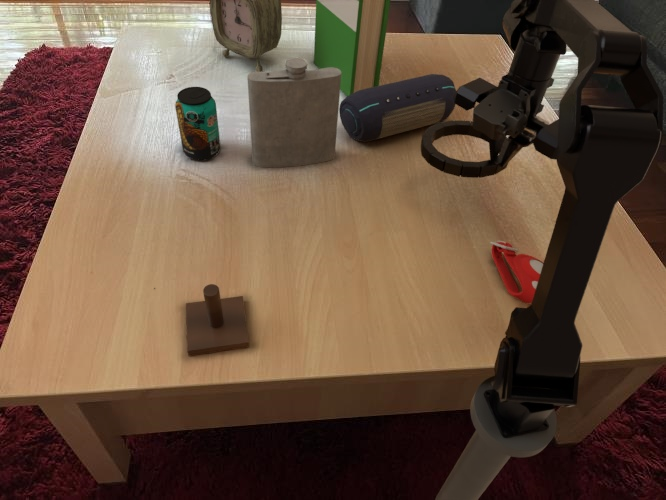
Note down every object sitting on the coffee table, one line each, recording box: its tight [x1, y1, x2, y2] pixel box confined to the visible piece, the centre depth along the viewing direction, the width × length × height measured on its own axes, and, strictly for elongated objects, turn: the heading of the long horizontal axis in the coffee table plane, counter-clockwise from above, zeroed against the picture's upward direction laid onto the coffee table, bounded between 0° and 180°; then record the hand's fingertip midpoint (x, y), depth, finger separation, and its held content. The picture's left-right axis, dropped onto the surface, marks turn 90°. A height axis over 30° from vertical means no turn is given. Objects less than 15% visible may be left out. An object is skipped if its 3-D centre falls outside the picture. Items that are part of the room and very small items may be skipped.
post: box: [185, 283, 250, 357], centre depth 70 cm, size 8×8×8 cm
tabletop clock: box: [209, 0, 283, 72], centre depth 117 cm, size 14×9×25 cm, turn 53°
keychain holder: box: [489, 240, 544, 304], centre depth 81 cm, size 12×4×10 cm
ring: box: [420, 119, 510, 179], centre depth 87 cm, size 15×15×2 cm
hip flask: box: [246, 56, 341, 168], centre depth 93 cm, size 16×4×20 cm, turn 103°
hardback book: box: [313, 0, 391, 97], centre depth 115 cm, size 18×7×24 cm, turn 28°
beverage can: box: [174, 86, 221, 162], centre depth 96 cm, size 7×7×12 cm
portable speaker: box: [338, 73, 457, 143], centre depth 106 cm, size 25×10×10 cm, turn 118°
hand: (497, 162), depth 84 cm, fingers closed on ring, 2 cm apart
